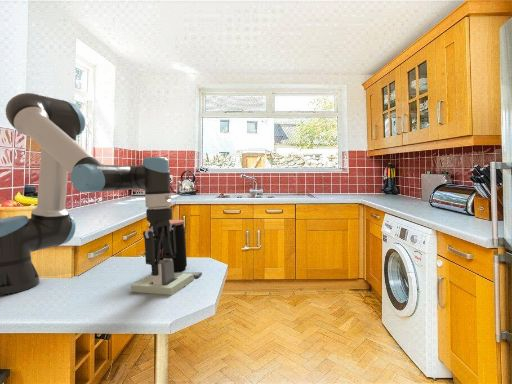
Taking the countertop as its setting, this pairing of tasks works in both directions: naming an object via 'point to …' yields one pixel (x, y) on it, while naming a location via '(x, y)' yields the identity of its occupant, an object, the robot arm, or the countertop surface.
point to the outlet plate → (148, 287)
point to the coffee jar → (178, 247)
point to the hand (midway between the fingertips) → (163, 281)
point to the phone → (195, 274)
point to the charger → (167, 271)
